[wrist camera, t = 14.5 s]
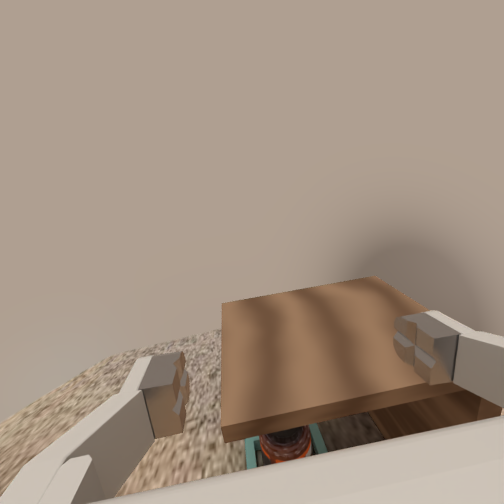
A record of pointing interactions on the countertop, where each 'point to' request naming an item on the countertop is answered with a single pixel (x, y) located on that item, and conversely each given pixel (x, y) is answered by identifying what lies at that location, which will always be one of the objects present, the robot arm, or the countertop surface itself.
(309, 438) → the supplement bottle
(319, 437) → the socket
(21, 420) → the countertop surface
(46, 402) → the countertop surface
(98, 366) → the countertop surface
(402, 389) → the wooden l-shaped bracket
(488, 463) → the robot arm
